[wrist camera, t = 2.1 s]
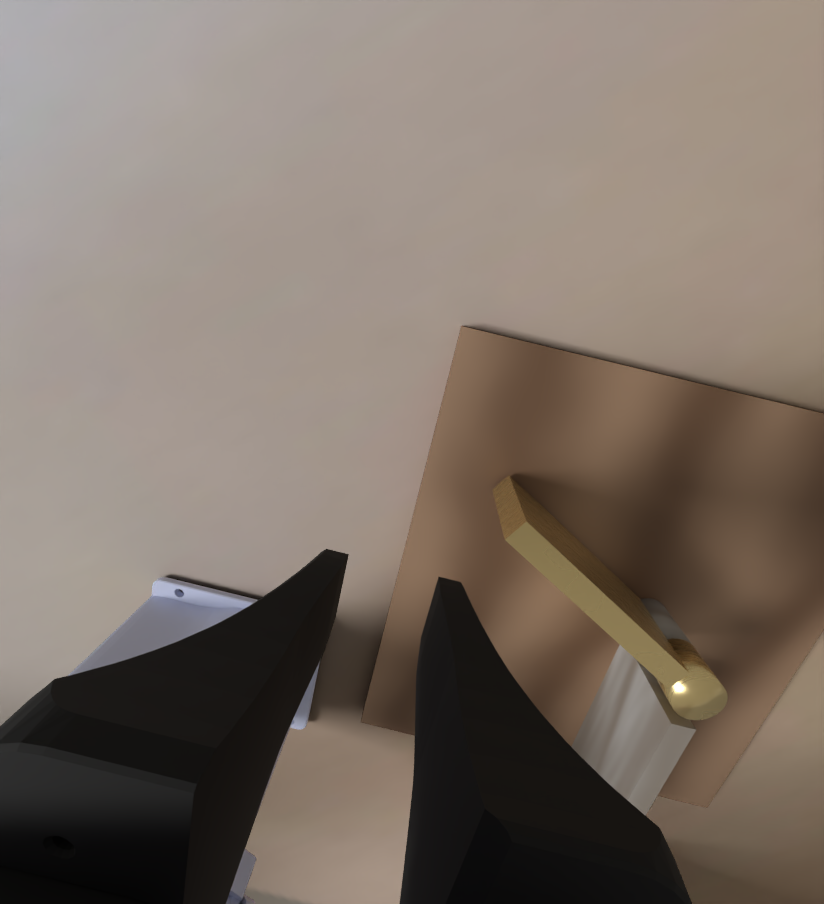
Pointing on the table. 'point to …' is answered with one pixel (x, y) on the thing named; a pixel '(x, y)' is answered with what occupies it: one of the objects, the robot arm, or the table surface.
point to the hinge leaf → (608, 602)
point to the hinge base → (619, 552)
